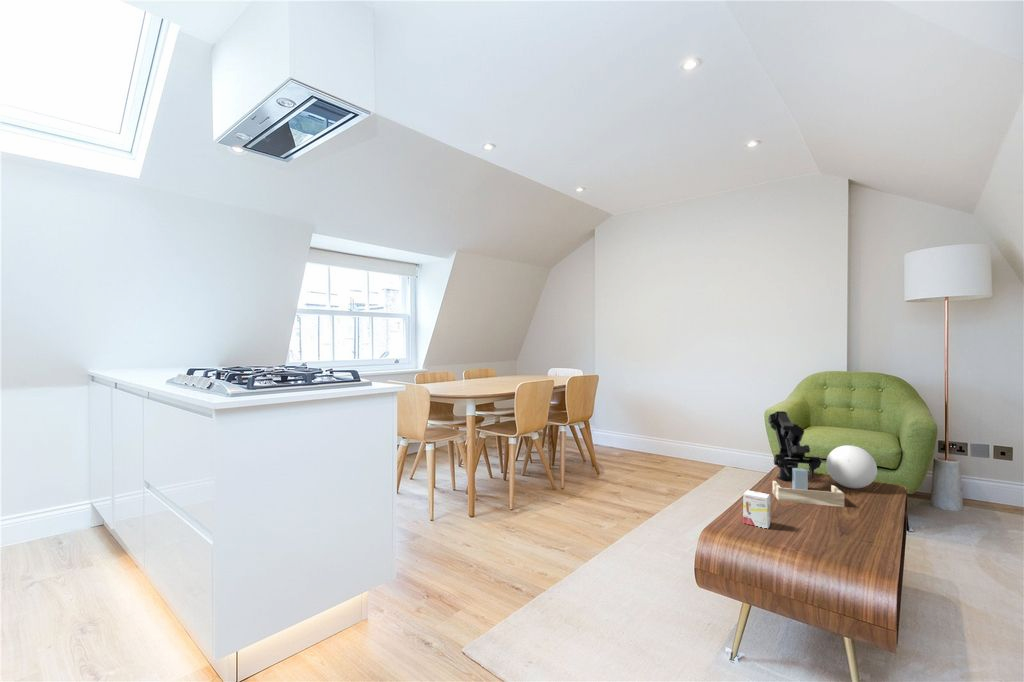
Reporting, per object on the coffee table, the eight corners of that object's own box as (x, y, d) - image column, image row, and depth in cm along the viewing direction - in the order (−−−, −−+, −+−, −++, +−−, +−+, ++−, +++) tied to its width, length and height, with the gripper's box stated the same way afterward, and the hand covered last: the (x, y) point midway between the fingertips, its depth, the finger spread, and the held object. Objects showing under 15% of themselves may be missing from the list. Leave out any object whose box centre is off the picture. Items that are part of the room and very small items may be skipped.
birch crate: (772, 493, 213) (772, 480, 213) (834, 499, 206) (834, 485, 206) (778, 501, 202) (778, 488, 202) (844, 508, 195) (844, 493, 195)
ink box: (742, 523, 177) (742, 492, 177) (745, 520, 181) (745, 489, 181) (767, 529, 172) (767, 497, 172) (770, 525, 176) (770, 494, 176)
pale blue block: (792, 491, 217) (792, 467, 217) (804, 492, 216) (804, 468, 216) (795, 494, 212) (795, 470, 212) (807, 495, 211) (807, 471, 211)
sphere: (870, 497, 209) (870, 452, 209) (820, 486, 224) (820, 445, 225) (882, 488, 222) (882, 446, 222) (833, 479, 237) (833, 439, 237)
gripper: (775, 437, 221) (780, 466, 210) (820, 439, 215) (828, 469, 204) (771, 450, 228) (776, 478, 218) (814, 452, 223) (822, 482, 212)
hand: (800, 477), depth 213 cm, fingers open, 9 cm apart
